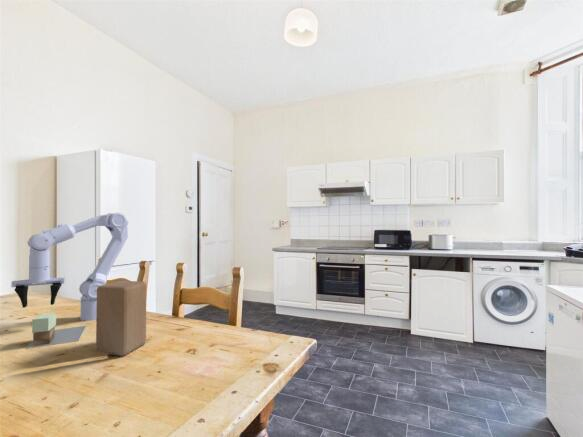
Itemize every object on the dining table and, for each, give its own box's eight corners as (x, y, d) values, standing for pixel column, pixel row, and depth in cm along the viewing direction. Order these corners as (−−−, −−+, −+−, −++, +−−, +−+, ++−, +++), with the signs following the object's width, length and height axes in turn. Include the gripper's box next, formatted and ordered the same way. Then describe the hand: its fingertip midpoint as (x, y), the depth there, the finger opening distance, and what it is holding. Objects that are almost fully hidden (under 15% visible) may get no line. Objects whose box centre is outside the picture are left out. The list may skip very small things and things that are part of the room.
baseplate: (86, 328, 108) (86, 325, 108) (78, 344, 94) (78, 340, 94) (40, 335, 102) (40, 331, 102) (24, 352, 88) (24, 348, 88)
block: (123, 357, 85) (124, 287, 85) (94, 354, 87) (95, 286, 87) (147, 343, 95) (147, 281, 95) (120, 341, 97) (121, 280, 97)
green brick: (56, 324, 97) (56, 312, 97) (48, 331, 92) (48, 318, 92) (41, 326, 96) (41, 313, 96) (32, 332, 90) (32, 319, 90)
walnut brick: (54, 337, 97) (54, 324, 97) (49, 343, 92) (49, 330, 92) (38, 339, 95) (39, 326, 95) (33, 346, 90) (33, 332, 90)
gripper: (67, 264, 112) (66, 300, 112) (17, 267, 106) (16, 305, 105) (63, 266, 106) (62, 304, 106) (9, 269, 99) (8, 310, 99)
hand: (38, 305), depth 105 cm, fingers open, 7 cm apart
